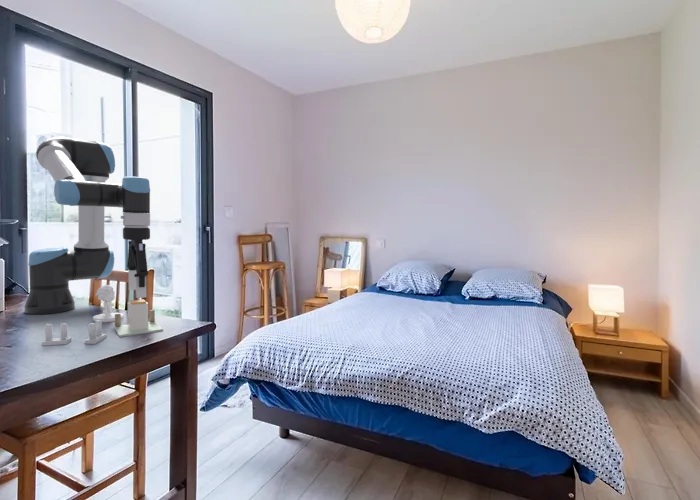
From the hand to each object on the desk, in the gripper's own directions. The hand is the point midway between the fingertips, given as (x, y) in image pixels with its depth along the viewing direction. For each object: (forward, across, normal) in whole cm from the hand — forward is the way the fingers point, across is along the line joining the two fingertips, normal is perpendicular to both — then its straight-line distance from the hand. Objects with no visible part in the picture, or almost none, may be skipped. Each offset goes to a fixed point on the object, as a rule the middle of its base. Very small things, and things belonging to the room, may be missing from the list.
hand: (137, 293), depth 125 cm
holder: (+12, +1, 0) cm, 12 cm away
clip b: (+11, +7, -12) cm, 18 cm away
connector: (+11, +1, 0) cm, 11 cm away
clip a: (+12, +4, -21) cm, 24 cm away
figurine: (+12, -19, -6) cm, 24 cm away
